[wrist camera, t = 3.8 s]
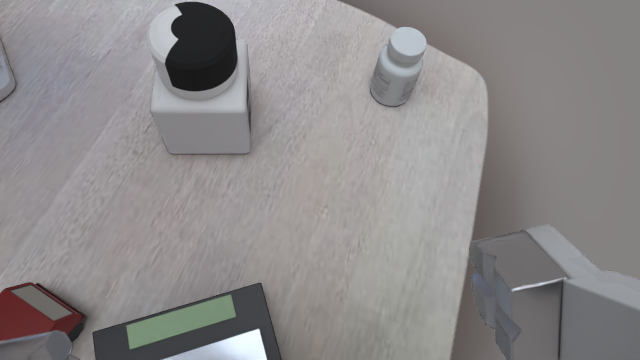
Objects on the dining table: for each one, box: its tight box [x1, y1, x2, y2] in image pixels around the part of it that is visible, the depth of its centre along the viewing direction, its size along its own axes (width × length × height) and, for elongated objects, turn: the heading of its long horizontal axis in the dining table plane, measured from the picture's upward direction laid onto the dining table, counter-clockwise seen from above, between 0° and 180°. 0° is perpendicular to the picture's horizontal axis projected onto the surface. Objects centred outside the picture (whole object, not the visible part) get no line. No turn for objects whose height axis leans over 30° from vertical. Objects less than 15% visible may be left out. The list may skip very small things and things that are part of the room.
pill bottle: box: [370, 27, 426, 106], centre depth 46 cm, size 4×4×8 cm
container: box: [147, 2, 251, 154], centre depth 40 cm, size 8×8×13 cm
